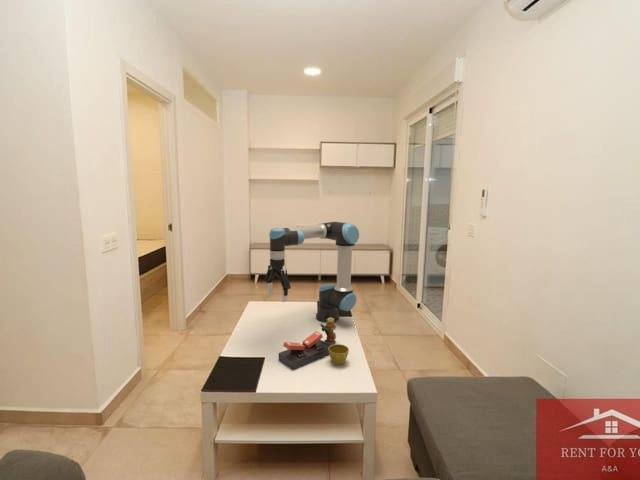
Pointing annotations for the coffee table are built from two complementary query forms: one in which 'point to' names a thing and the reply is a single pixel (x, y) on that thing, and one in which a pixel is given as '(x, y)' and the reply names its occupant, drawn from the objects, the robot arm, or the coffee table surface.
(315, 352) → the power strip
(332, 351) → the flower pot
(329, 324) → the figurine
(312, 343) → the rocker
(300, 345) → the plate
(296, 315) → the coffee table surface
